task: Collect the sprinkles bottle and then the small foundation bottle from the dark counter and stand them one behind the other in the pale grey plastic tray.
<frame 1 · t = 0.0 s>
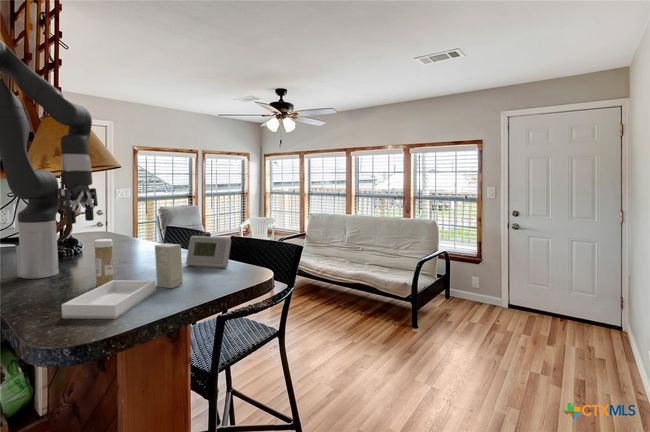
hand: (81, 222, 111), 17 cm above the bar counter, tool pointing down, fingers open, 8 cm apart
tray: (114, 303, 89), on the bar counter
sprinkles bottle: (105, 286, 103), on the bar counter
digital clock: (208, 266, 130), on the bar counter
skincare box: (169, 286, 105), on the bar counter
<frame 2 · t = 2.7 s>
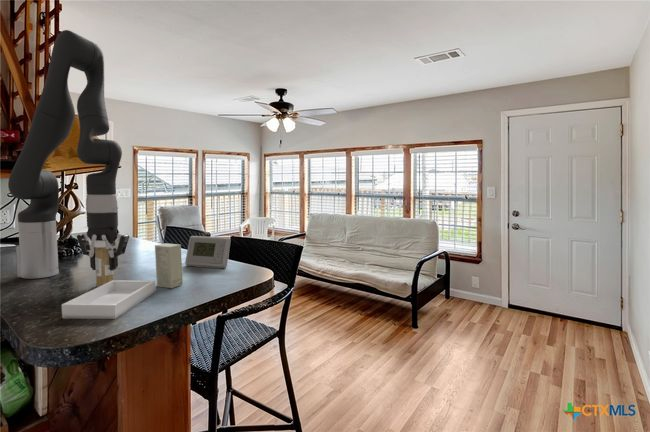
hand: (104, 269, 103), 5 cm above the bar counter, tool pointing down, fingers closed on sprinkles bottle, 4 cm apart
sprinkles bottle: (105, 286, 103), on the bar counter, touching gripper
everything else where it was.
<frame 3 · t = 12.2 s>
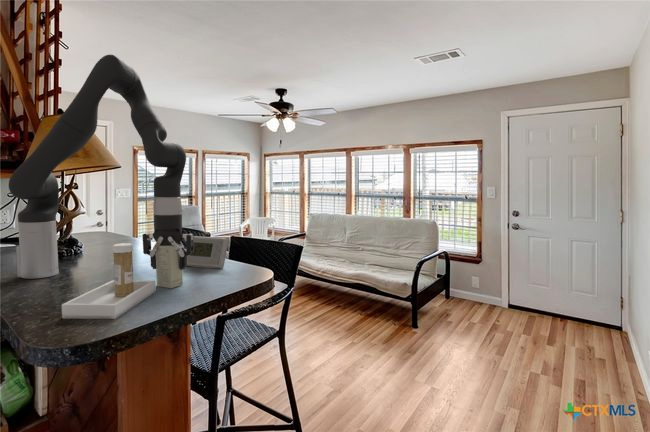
hand: (169, 268, 104), 5 cm above the bar counter, tool pointing down, fingers closed on skincare box, 7 cm apart
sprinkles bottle: (124, 295, 94), resting on tray
skincare box: (169, 286, 105), on the bar counter, touching gripper
when the fingers open (7 cm above the bar counter, at t = 18.3 s): skincare box drops 1 cm, resting on tray.
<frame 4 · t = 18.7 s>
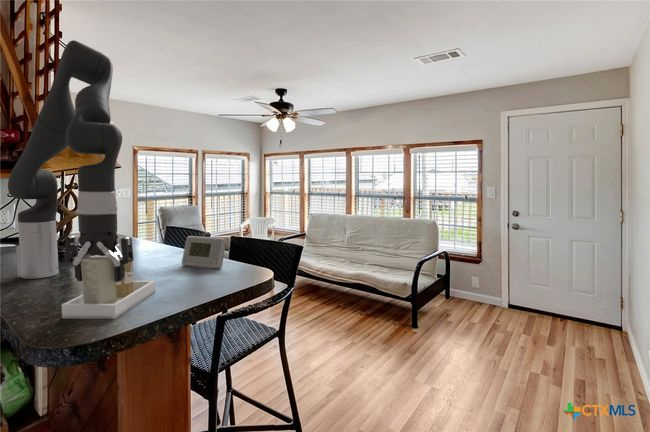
hand: (100, 280, 83), 7 cm above the bar counter, tool pointing down, fingers open, 8 cm apart
skincare box: (100, 309, 84), resting on tray, touching gripper
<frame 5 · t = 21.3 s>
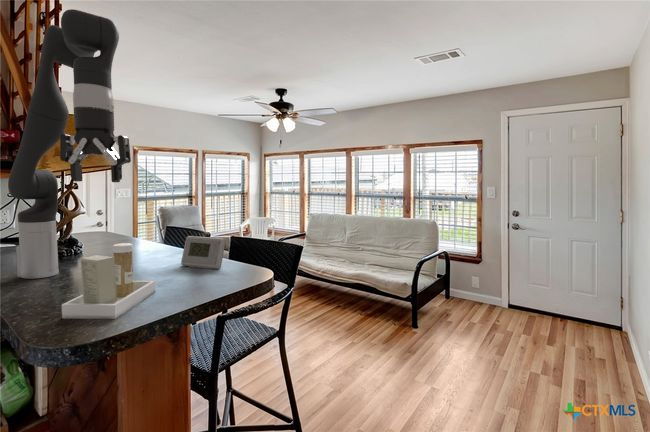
hand: (96, 181, 81), 30 cm above the bar counter, tool pointing down, fingers open, 8 cm apart
skincare box: (100, 309, 84), resting on tray
at the end: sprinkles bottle inside the target area on the tray (5.1 cm from its centre), point 0.4 cm above the tray's base; skincare box inside the target area on the tray (5.0 cm from its centre), point 0.4 cm above the tray's base; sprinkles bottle tilted 0° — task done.
